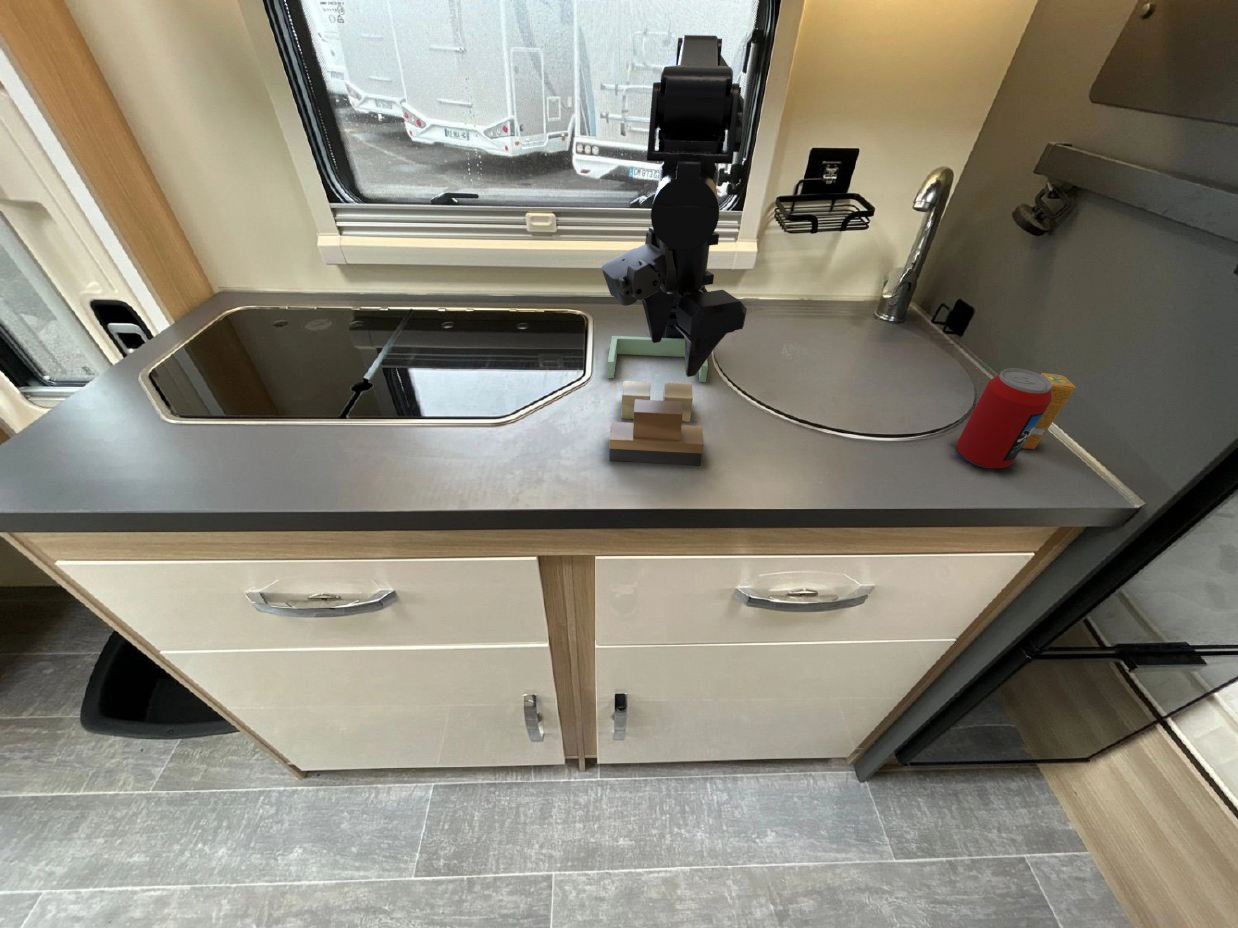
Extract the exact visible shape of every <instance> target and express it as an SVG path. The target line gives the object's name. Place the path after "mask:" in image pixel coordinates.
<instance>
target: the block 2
mask: <svg viewBox="0 0 1238 928" xmlns="http://www.w3.org/2000/svg"><path fill="white" fill-rule="evenodd" d="M693 397H694V396H693V383H675V382H664V383H663V395H662V401H681V402H682V411H683V416H682V422H685V423H686V422H691V417H692V416H691V415H692V410H693V402H694V401H693V400H694V398H693Z"/></svg>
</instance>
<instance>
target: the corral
mask: <svg viewBox="0 0 1238 928" xmlns="http://www.w3.org/2000/svg"><path fill="white" fill-rule="evenodd" d="M618 355H629V356H630V355H631V356H632V355H633V356H653V357H654V356H656V357H675V358H680V357H681V358H685V339H674V338H662V339H661V341H660V342H657V343H653V342H652V340H651V336H649V337H648V336H628V335H627V336H625V335H624V336H623V335H611V340H610V347H609V351H608V357H607V378H608V379H614V378H615V372H616V364H617V358H618ZM708 369H709V364H708V358H707V359H706V361H705V362H704V364H703V365H702V367H701V368H700V369H699V371H698V379H699V383H706V382H707V377H708V371H709V370H708Z"/></svg>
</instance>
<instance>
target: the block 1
mask: <svg viewBox="0 0 1238 928" xmlns="http://www.w3.org/2000/svg"><path fill="white" fill-rule="evenodd" d="M622 383H623V384H622V392H621V419H624V420H625V419H626V420H627V419H628V420H634V405H635V399H638V400H651V388H652V387H651V385H652V382H650V381H634V380H623V382H622Z"/></svg>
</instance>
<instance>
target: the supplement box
mask: <svg viewBox="0 0 1238 928" xmlns="http://www.w3.org/2000/svg"><path fill="white" fill-rule="evenodd" d="M1040 375H1042V376H1044V377H1046V378H1047V379H1048V380H1049V381H1050V382H1051V383H1052V388H1051V396H1052V400H1051V402H1050V404H1049V405H1048V407H1047V409H1046V410H1045V412H1044V414H1043V415H1042V417H1041V418H1040V420H1039V422H1038V423H1037V425H1036V427H1035V428H1034V430H1033V431H1032V433H1031V435H1030V436H1029V438H1028V439H1027V441H1026V442H1025V444H1024V445H1023V447H1022V449H1026V450H1027V449H1029V450H1035V449H1036V447H1037V446H1038V445H1039V443H1040V441H1041V440H1042V438H1043V437H1044V435H1045V434H1046V432H1047V431H1048V430H1049V428H1050V427H1051V425H1052V424H1053V422H1054V421H1055V419H1056V418H1057V417H1058V415H1059V414H1060V412H1061V411H1062V409H1063V407H1064V406H1065V405H1066V403H1067V402H1068V400H1069V399H1070V397H1071V396H1072V394H1073V392H1074V391H1075V390H1076V389H1077V387H1076V385H1074V383H1072V382H1071V381H1070V380H1069V379H1068V378H1067V377H1066V376H1065V375H1061V374H1055V373H1047V372H1041V373H1040Z"/></svg>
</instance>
